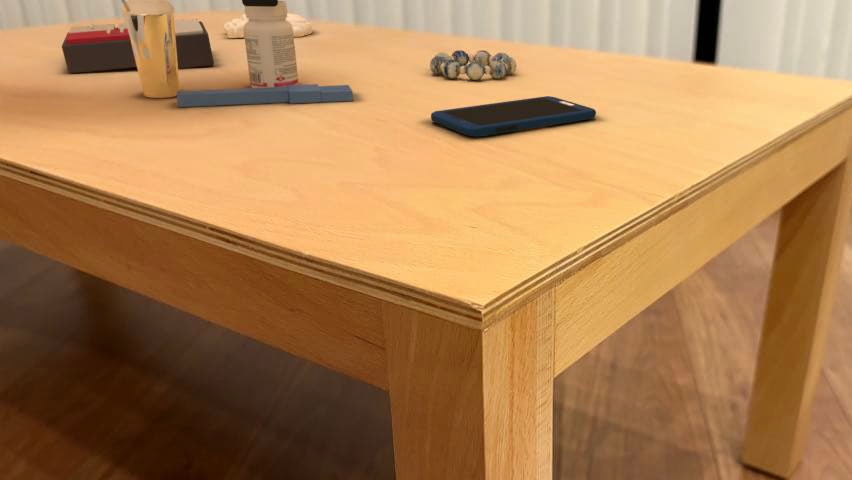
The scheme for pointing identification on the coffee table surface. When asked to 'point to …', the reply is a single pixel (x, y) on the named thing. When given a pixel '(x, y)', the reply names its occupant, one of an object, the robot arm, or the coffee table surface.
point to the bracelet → (472, 64)
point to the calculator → (130, 47)
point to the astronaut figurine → (297, 22)
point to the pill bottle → (270, 47)
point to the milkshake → (153, 45)
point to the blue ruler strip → (265, 95)
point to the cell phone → (512, 115)
